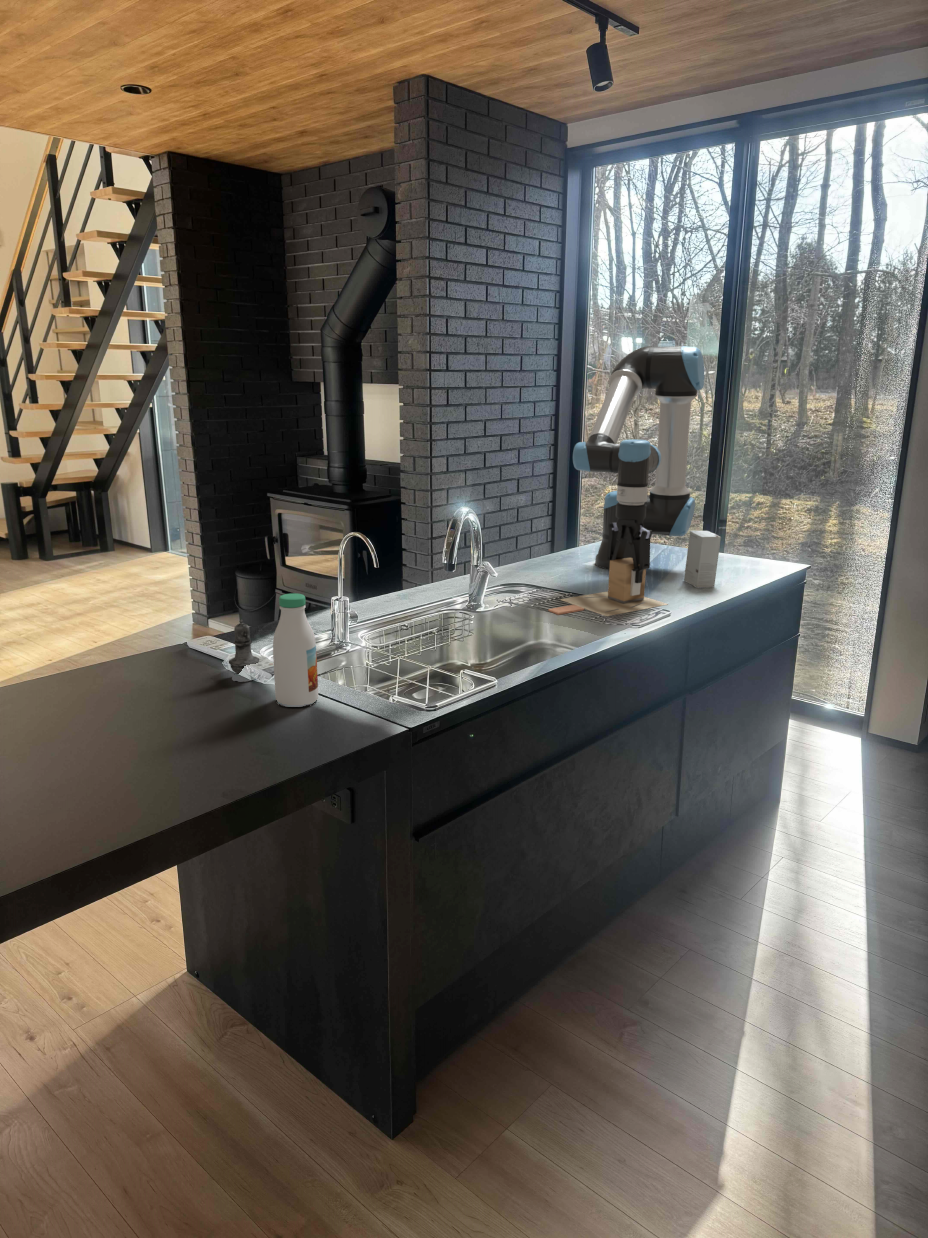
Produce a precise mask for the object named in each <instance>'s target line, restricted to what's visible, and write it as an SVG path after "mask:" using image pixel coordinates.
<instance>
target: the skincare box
mask: <svg viewBox="0 0 928 1238" xmlns="http://www.w3.org/2000/svg"><path fill="white" fill-rule="evenodd" d="M721 539H722V537H721V536H719V535H718V534H716V533H714V532H711V531H709V530H690V531H689V538H688V546H687V553H686V562H685V567H684V568H685V569H684V576H683V577H684V578H683V581H684V582H685V583H687V584H690V585H691V586H693V587H694V588H696V589H697V588H701V589H702V588H715V585H716V578H717V576H716V575H717V568H718V563H719V562H718V561H719V554H720V547H721Z"/></svg>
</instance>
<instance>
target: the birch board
mask: <svg viewBox="0 0 928 1238" xmlns="http://www.w3.org/2000/svg"><path fill="white" fill-rule="evenodd" d="M559 600H560V601H563V602H566V603H568V604H570V605H576V606H579V607H582V608H584V610H588V611H590V612H593V613H596V614H598V615H602V616H603V617H610V616H616V615H620V614H626V613H631V612H636V611H641V610H646V609H653V608H657V607H662V606H668V605H670V604H669V603H665V602H663V601H659V600H657V599H653V598H649V597H647V596H644V600H640V601H634V602H628V603H621V602H618V601H615V600H612V599H609V598H608V590H607V591H601V592H596V593H591V594H589V593H588V594H583V595H579V596H572V597H567V598H561V599H559Z"/></svg>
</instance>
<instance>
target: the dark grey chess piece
mask: <svg viewBox="0 0 928 1238" xmlns="http://www.w3.org/2000/svg"><path fill="white" fill-rule="evenodd" d="M233 632H234V641H233V645H234V646H235V647H234V649H235V654H234V657H232V658H230V659H229V660H228V664H229V665H230V669H231V670H232V672H234V673H235V674H239V673H240V672H241V671H242V669H243V668H244V666H246V665H250V664H256V663H258V664H259V662H260V658H259V657H257V656H254V655H253V653H252V645H251V644H252V643H253V640H251V636H250V635H251V632H250V626H249V624H246V623H245V622H244V620H243V619H240V620H239V623H238V624H237V625H235V626H234V631H233Z"/></svg>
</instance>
